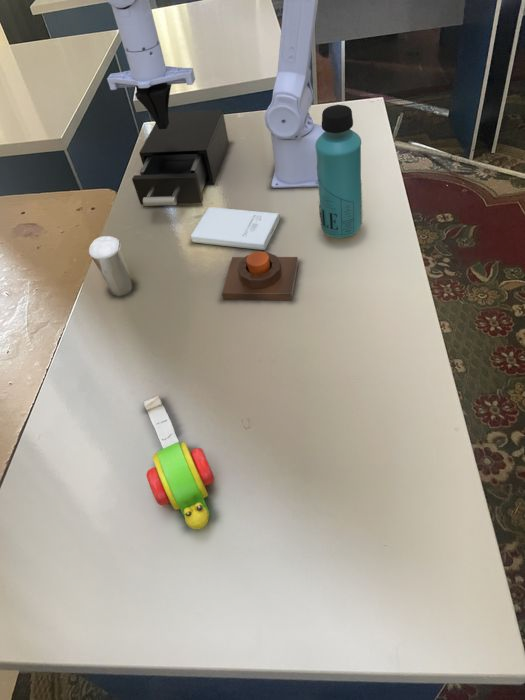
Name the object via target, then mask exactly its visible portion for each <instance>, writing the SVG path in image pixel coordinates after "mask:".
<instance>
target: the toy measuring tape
mask: <svg viewBox="0 0 525 700" xmlns="http://www.w3.org/2000/svg"><path fill="white" fill-rule="evenodd" d="M143 406H144V408H145V410H146V412H147V415H148V417H149V419H150V422H151V424H152V427H153V429H154V431H155V433H156V435H157V438H158V440H159V443H160V445H161V447H162V449H159V450H158V451H156V453H153V454H152V460H153V464H154V466H153V467H151V468H149V469H148V470H147V472H146V479H147V482H148V485H149V488H150V490H151V492H152V495H153V497H154V500H155V501H156V503H157V504H158V505H159V506H165V505H168V504H169V503H170V505H171V506H172V508H173V509H174V510H175V511H177V510H178V511H179V510H180V511H181V513H182V515H183V518H184V522H185V524H186V525H187V526H188V528H190V529H193V530H200V529H203V528H204V527H205V526H206V525H207V524H208V522H209V519H210V518H209V517H210V515H211V513H210V511H209V507H208V506H207V503H206V500H205V498H207V497H208V496H209V494H208V491H207V488H206V486H209V485H211V484H212V483H213V482H214V481H215V476H214V473H213V471H212V469H211V466H210V464H209V462H208V459H207V457H206V453H205V452H204V450H203V448H201V447H196V448H194V449H192V450H190V448H189V446H188V445H187V443H186V442H180V440H179V438H178V436H177V434H176V431H175V427H174V425H173V423H172V420H171V417H170V416H169V414H168V412H167V410H166V408H165V406H164V405H163V401H162V399H161V397H160V395H156V396H154V397H151V398H149V399H147V400H144V401H143Z"/></svg>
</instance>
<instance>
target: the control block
mask: <svg viewBox="0 0 525 700" xmlns="http://www.w3.org/2000/svg"><path fill="white" fill-rule="evenodd" d="M264 252H265V253H267V254H268V256H269V261H270V269H269V271H268V272H266V273H263V274H251V273H250V272H249V270H248V265H247V257H248V256H249V255H250V254H248V255H246V256H232V258H231V260H230V264H229V267H228V270H227V275H226V278H225V282H224V285H223V289H222V292H221V295H222V298H223V300H225V301H226V300H229V301H230V300H231V301H235V300H237V301H242V300H243V301H244V300H245V301H292V300H293V298H294V297H293V296H294V291H295V286H296V285H295V284H296V278H297V273H298V267H299V259H298V256H278V255H275V254H273V253H272V252H271V253H270V252H267V251H264Z"/></svg>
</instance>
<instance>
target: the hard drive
mask: <svg viewBox="0 0 525 700" xmlns="http://www.w3.org/2000/svg"><path fill="white" fill-rule="evenodd" d="M279 223H280V213H279V212H268V211H267V212H266V211H256V210H247V209H236V208H227V207H226V208H225V207H213V206H209V207H208V208H207V209H206V211H205V212H204V214H203V215H202V216H201V219H199V222H198V223H197V225H196V226H195V228H194V229H193V231H192V232H191V235H190V238H191V239H190V240H191V242H192V243H196V244H204V245H214V246H222V247H232V248H239V249H241V248H242V249H250V250H258V251H266V249H267V247H268V245H269V243H270V241H271V239H272V237H273V235H274V233H275V231H276V229H277V227H278V225H279Z"/></svg>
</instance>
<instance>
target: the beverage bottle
mask: <svg viewBox="0 0 525 700" xmlns="http://www.w3.org/2000/svg"><path fill="white" fill-rule="evenodd" d="M321 125H322V129H323V130H324V131H325V132H324V133H323V134H322V135H321V136H320V137H319V138H318V139H317V141H316V144H315V147H316V154H317V162H316V163H317V170H318V172H317V173H318V180H317V181H318V185H319V186H318V196H319V197H318V198H319V199H318V200H319V203H318V208H319V209H318V211H319V220H320V223H319V224H320V227H321V229H322V231H323V232H324V233H325V234H326V235H327V236H329V237H332V238H336V239H345V238H349V237H352V236H354V235H356V234H357V233H358V232H359V231H360V229H361V227H362V224H363V222H364V220H363V218H364V217H363V216H364V211H363V210H364V209H363V208H364V207H363V205H364V203H363V196H362V188H363V186H362V185H363V183H362V138H361V136H360V135H359V134H358V133H357V132H355V131H354V130H352V128H353V126H354V119H353V110H352V109H351V107H350V106H348V105H345V104H334V105H330V106H327V107H326V108H324V109H323V111H322V113H321Z"/></svg>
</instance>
